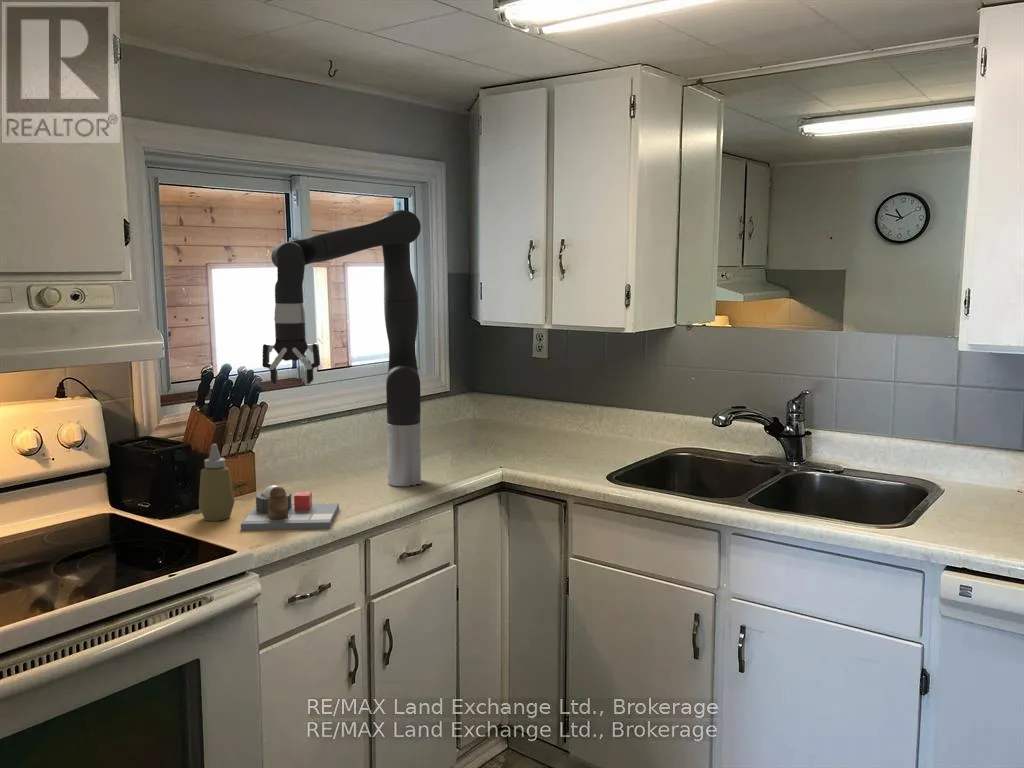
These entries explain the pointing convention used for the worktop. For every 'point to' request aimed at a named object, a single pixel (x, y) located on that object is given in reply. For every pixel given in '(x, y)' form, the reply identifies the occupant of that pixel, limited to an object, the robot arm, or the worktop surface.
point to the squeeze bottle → (215, 488)
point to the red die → (303, 500)
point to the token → (278, 504)
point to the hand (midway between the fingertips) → (292, 383)
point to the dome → (268, 491)
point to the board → (290, 516)
